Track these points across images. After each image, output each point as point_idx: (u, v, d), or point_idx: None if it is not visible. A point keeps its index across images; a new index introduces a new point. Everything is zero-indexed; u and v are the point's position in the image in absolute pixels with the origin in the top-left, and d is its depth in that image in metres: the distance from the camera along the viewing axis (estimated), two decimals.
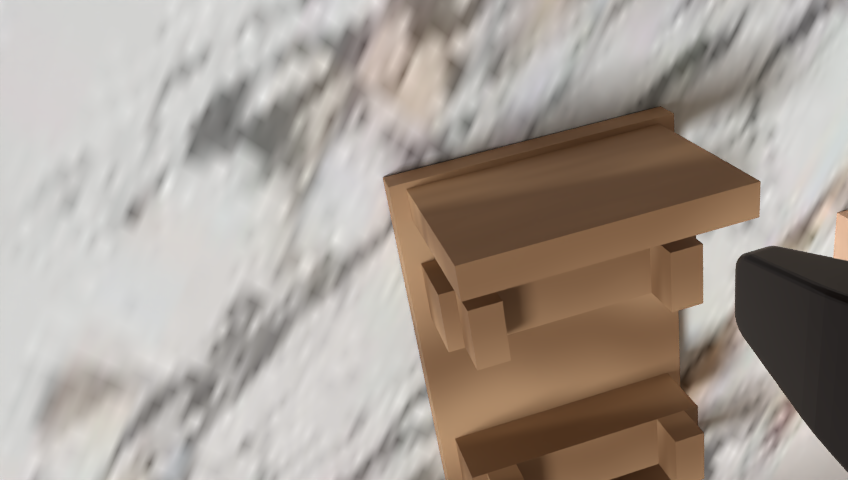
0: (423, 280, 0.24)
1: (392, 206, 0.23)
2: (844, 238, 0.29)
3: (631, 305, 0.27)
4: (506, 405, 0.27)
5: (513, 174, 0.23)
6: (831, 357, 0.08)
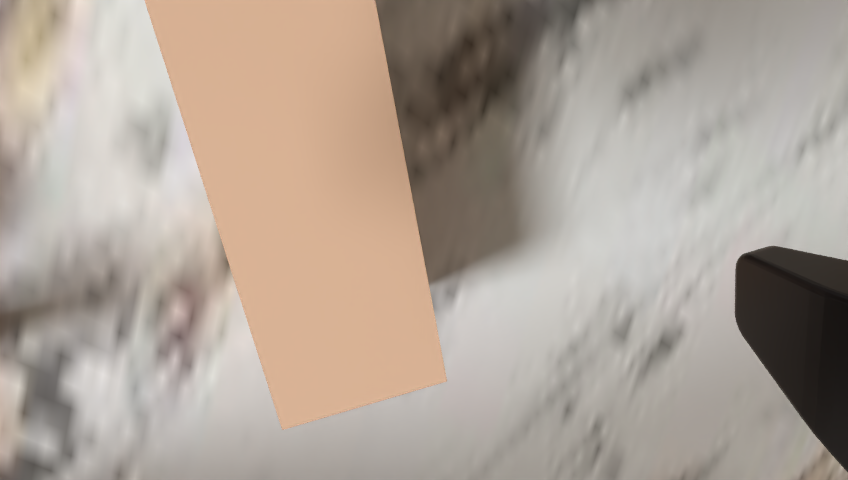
0: None
1: None
2: None
3: None
4: None
5: None
6: (831, 357, 0.08)
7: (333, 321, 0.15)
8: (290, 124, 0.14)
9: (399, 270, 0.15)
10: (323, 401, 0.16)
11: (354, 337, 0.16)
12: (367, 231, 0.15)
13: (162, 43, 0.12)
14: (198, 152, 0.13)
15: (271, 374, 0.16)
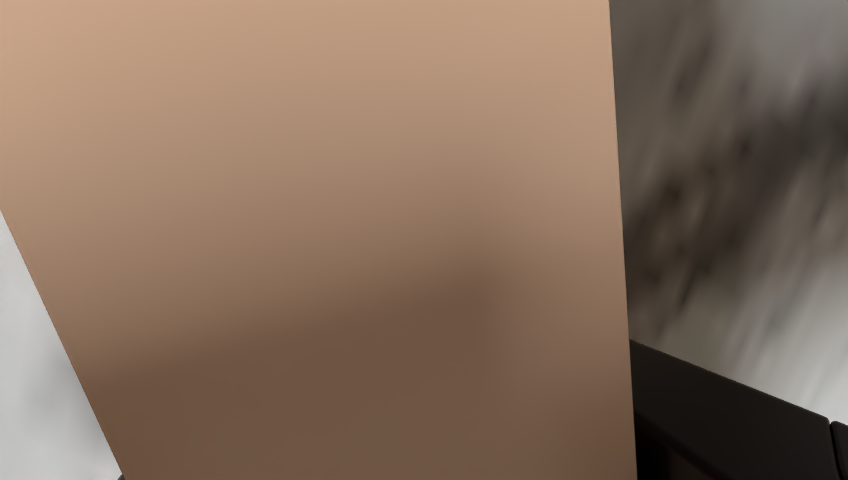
0: None
1: None
2: None
3: None
4: None
5: None
6: None
7: None
8: None
9: None
10: None
11: None
12: None
13: (80, 360, 0.05)
14: None
15: None
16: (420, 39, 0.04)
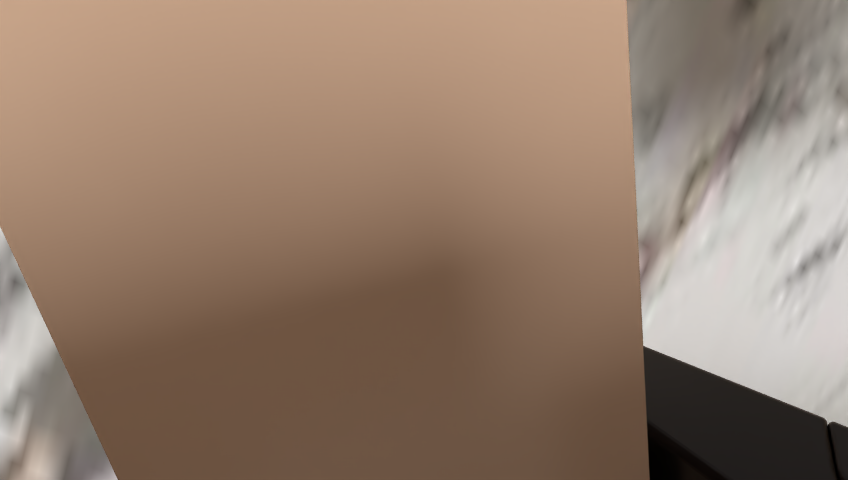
0: None
1: None
2: None
3: None
4: None
5: None
6: None
7: None
8: None
9: None
10: None
11: None
12: None
13: (76, 367, 0.04)
14: None
15: None
16: (431, 35, 0.04)
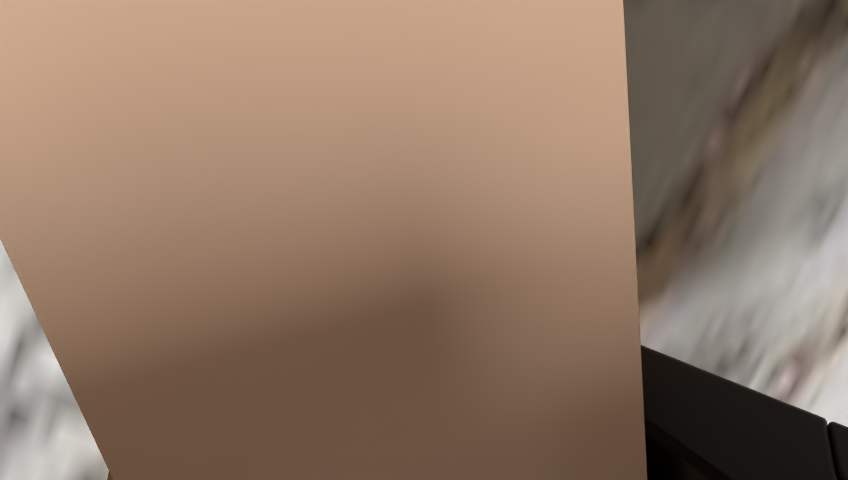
0: None
1: None
2: None
3: None
4: None
5: None
6: None
7: None
8: None
9: None
10: None
11: None
12: None
13: (71, 367, 0.04)
14: None
15: None
16: (427, 34, 0.04)
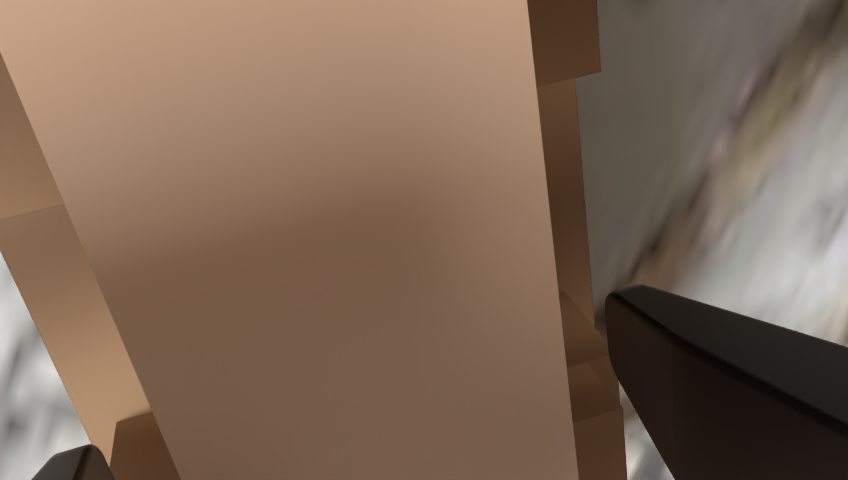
0: None
1: None
2: None
3: None
4: None
5: None
6: (681, 405, 0.08)
7: None
8: (364, 385, 0.07)
9: None
10: None
11: None
12: None
13: (96, 259, 0.06)
14: (179, 449, 0.07)
15: None
16: None
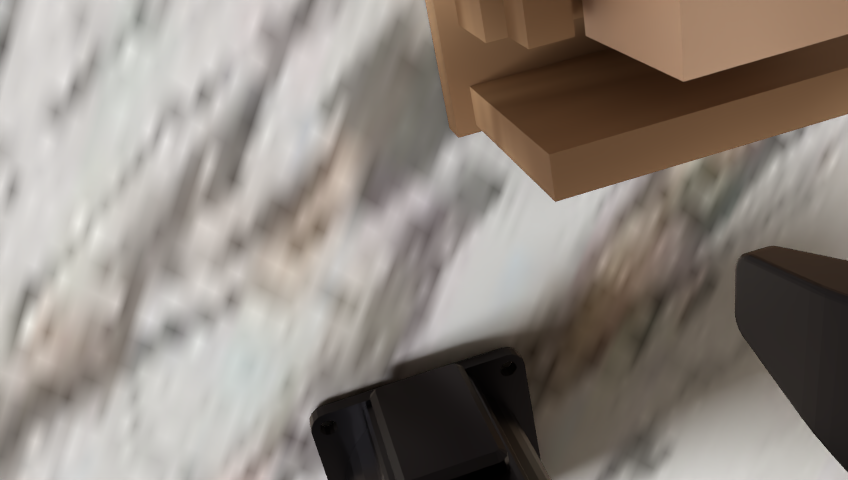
0: None
1: None
2: None
3: None
4: None
5: None
6: (831, 357, 0.08)
7: None
8: None
9: None
10: (731, 46, 0.14)
11: None
12: None
13: None
14: None
15: (685, 1, 0.13)
16: None
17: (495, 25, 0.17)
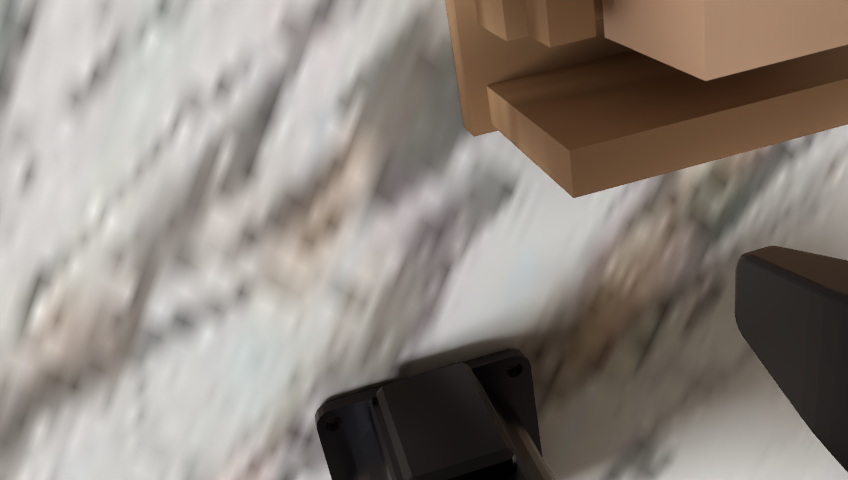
0: None
1: None
2: None
3: None
4: None
5: None
6: (831, 357, 0.08)
7: None
8: None
9: None
10: (753, 47, 0.14)
11: None
12: None
13: None
14: None
15: (710, 1, 0.14)
16: None
17: (517, 24, 0.17)
